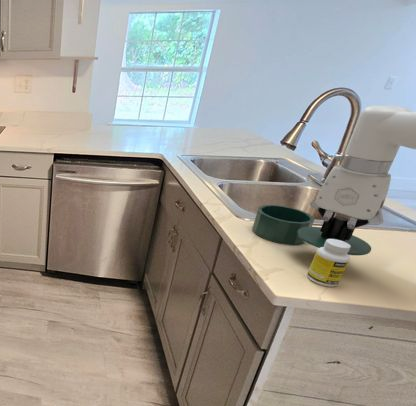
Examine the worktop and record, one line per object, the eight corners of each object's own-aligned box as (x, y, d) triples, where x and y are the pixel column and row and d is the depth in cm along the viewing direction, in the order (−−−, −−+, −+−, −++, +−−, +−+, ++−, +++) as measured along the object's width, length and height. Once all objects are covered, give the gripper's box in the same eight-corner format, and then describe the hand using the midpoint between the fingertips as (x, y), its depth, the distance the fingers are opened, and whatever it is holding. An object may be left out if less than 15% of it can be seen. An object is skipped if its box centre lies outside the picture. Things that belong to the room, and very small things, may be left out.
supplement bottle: (325, 289, 80) (342, 250, 76) (300, 275, 85) (314, 238, 81) (344, 285, 81) (362, 247, 77) (318, 271, 86) (333, 235, 82)
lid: (379, 248, 84) (391, 222, 82) (355, 263, 79) (367, 237, 76) (311, 226, 95) (320, 202, 92) (285, 238, 90) (294, 214, 87)
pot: (314, 237, 100) (322, 216, 98) (292, 249, 95) (300, 227, 93) (265, 221, 110) (272, 201, 107) (243, 231, 105) (249, 210, 102)
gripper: (311, 158, 84) (285, 228, 91) (412, 178, 71) (372, 258, 78) (326, 153, 87) (300, 221, 95) (425, 171, 74) (386, 249, 82)
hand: (333, 237), depth 86 cm, fingers closed on lid, 2 cm apart
